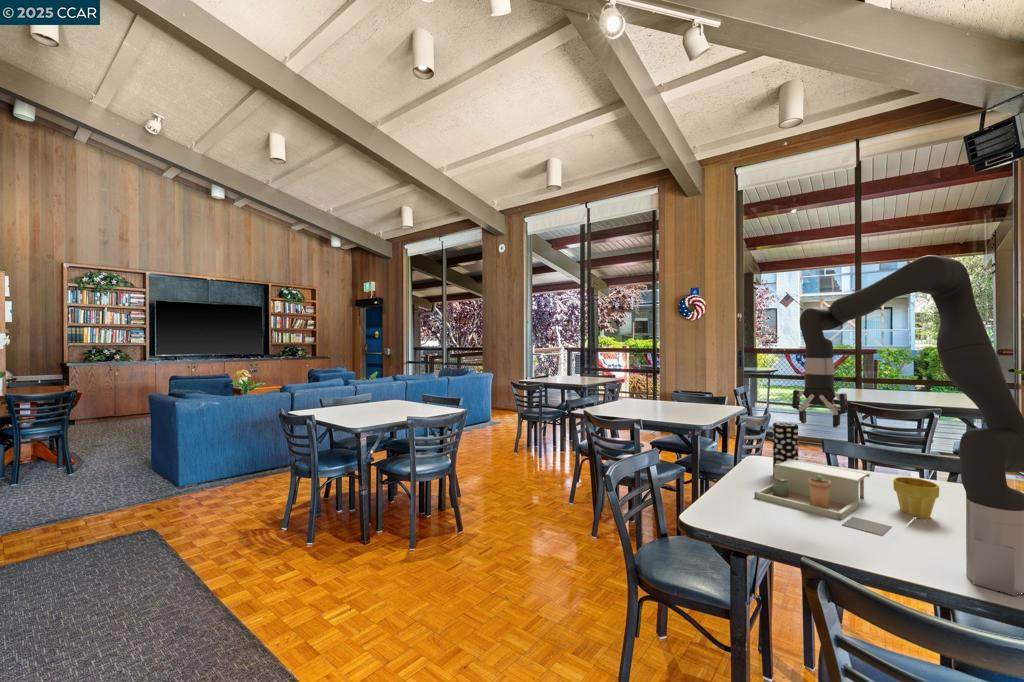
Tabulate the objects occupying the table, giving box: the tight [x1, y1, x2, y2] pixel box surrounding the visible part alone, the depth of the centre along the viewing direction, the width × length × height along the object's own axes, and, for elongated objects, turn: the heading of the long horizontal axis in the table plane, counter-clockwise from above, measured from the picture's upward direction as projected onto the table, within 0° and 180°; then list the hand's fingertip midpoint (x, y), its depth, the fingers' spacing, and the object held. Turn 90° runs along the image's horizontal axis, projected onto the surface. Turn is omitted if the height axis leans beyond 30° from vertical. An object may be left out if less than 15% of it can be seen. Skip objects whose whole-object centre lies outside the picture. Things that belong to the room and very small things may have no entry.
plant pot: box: [892, 476, 940, 519], centre depth 137 cm, size 10×10×10 cm
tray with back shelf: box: [754, 459, 871, 520], centre depth 150 cm, size 28×24×9 cm
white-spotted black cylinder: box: [772, 421, 799, 475], centre depth 176 cm, size 8×8×20 cm
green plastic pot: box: [772, 478, 789, 497], centre depth 153 cm, size 4×4×5 cm
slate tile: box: [841, 516, 893, 537], centre depth 127 cm, size 9×9×1 cm
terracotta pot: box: [808, 475, 831, 509], centre depth 142 cm, size 6×6×10 cm
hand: (819, 425), depth 142 cm, fingers open, 8 cm apart
